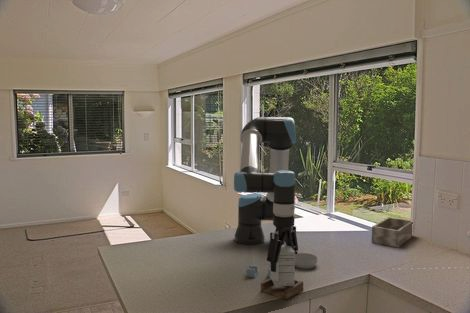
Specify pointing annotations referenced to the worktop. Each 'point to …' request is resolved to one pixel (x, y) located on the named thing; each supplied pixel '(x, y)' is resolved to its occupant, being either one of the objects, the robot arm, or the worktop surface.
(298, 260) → the saucepan
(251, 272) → the clip
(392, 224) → the box
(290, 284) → the supplement box
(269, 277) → the clip
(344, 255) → the worktop surface
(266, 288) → the wooden tray
